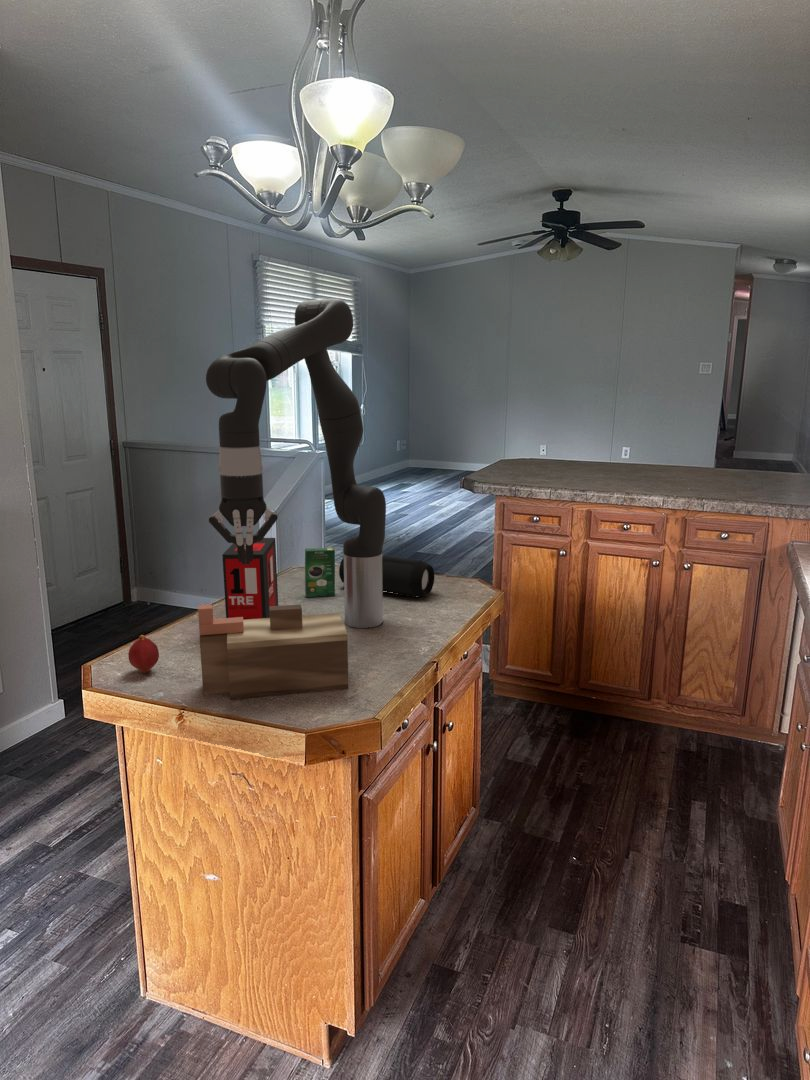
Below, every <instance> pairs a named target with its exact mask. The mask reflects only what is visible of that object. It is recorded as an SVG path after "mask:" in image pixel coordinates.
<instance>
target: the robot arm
mask: <svg viewBox="0 0 810 1080" xmlns="http://www.w3.org/2000/svg"><path fill="white" fill-rule="evenodd" d="M353 328H354V316H353V313H352V310H351V307H350V306H349V304H348V303H347V302H345V301H344V300H342V299H339V298H322V299H321V298H320V299H312V300H311V299H310V300H305V301H301V302H300V303H299V304H297V306H296V308H295V312H294V326H292V327H288V328H284V329H281V330H278V331H275V332H273V333H271V334H269V335H267V336H265V337H263V338H261V339H260V340H258V341H256V342H255V343H253V344H252V345H251V346H248V347H246V348H241V349H238V350H235V351H233V352H229V353H227V354H224V355H221V356H219V357H217V358H216V359H215V360H213V361H212V362H211V363H210V365H209V367H208V368H207V370H206V374H205V383H206V386H207V388H208V390H209V391H210V393H212V395H214V396H215V397H217V398H220V399H229V400H230V399H232V400H235V399H236V403H235V407H234V409H233V411H231V412H230V411H229V412H226V413H224V414H222V415H220V417H219V419H218V437H219V439H218V441H219V458H218V462H219V466H218V471H219V481H220V497H221V499H220V500H221V501H220V504H219V507H218V510H217V511H216V512H214V513H213V514H210V515H209V517H208V522H209V524H210V525H211V526H212V527H213V528H214V529H215V530H216V532H218V533H219V535H220V536H221V537H222V538H223V539H224V540H225V541H226V542H227V543H228V544H233V543H234V544H236V545H237V552H238V561H239V562H242V565H250V562H251V561H253V544H254V543H256V542H258V541H261V540H262V539H263V538H265V536H266V535H267V534H268V533H269V532H270V530H271V529H272V527H273V526H274V525H275V523H276V522H277V520H278V514H277V512H275V511H272V510H271V509H269V508H268V507H267V504H266V503H267V502H265V500H264V483H263V482H264V481H263V460H262V459H263V458H262V453H261V447H260V445H261V444H260V428H259V427H260V424H259V423H260V418H261V415H262V410H263V405H264V401H265V395H266V391H267V383H268V381H271V380H273V379H275V378H276V377H278V376H279V375H281V374H282V373H283V372H286V371H287V370H288V369H290V368H291V367H292V366H294V365H296V364H298V363H299V362H301V361H303V360H304V362H305V365H306V368H307V371H308V375H309V378H310V383H311V386H312V387H311V388H312V390H313V391H312V392H313V394H314V395H313V396H314V399H315V404H316V410H317V414H318V419H319V424H320V429H321V430H320V431H321V433H322V438H323V441H324V445H325V449H326V455H327V460H328V467H329V471H330V479H331V488H332V489H331V490H332V496H333V504H334V505H333V506H334V510H335V512H336V515H337V517H338V519H339V520H340V521H341V522H343V523H345V524H349V525H350V524H351V525H356V526H359V529H358V530H359V531H358V535H357V536H355V537H352V538H348V539H347V540H345V541H344V542H343V547H342V550H343V552H342V553H343V557H344V583H343V585H344V587H343V589H344V623H345V624H346V625H347V626H348V627H351V628H357V629H368V627H370V628H375V627H379V626H380V625H381V623H382V622H384V596H383V595H384V594H383V593H384V592H383V565H382V556H383V548H384V547H383V546H384V542H385V538H386V521H387V519H386V517H387V515H386V514H387V504H386V503H387V502H386V498H385V493H384V492H383V491H382V489H380V488H379V487H375V486H369V485H359V484H358V483H357V482H356V481H357V480H356V475H355V469H354V464H355V463H354V461H355V457H356V455H357V452H358V450H359V447H360V445H361V441H362V439H363V434H364V424H363V420H362V414H361V408H360V405H359V401H358V399H357V397H356V395H355V394H354V392H353V391H352V389H351V388H350V387H349V385H348V384H347V383H346V382H345V380H344V379H343V378H342V377H341V376H340V374H339V373H338V372H337V370H336V369H335V367H334V365H333V364H332V361H331V358H330V356H329V352H328V348H329V347H333V346H335V345H340V344H342V343H345V342H346V341H347V340H348V339H349V338H350V336H351V335H352V332H353ZM222 516H223V517H224V518H225V519H226V521H227V522H228V523H229V524H230V525H231V526H232V527H234V532H235V533H234V534H233V533H231V531H229V529H228V528H227V527H226V526H225V525H224V524H223V522H224V521H223V520H224V519H223V517H222ZM262 516H264V517H263V520H264V522H263V524H262V525H261V526H260V528H259V529H258V531H257V532H256V533H255V534H254V526H256V525H257V524H258V523H259V521H260V520H261V518H262ZM243 527H245V529H246V530H245V538H246V543H244V539H243V538H244V535H243ZM245 552H246V557H245ZM345 624H344V625H345ZM382 624H383V623H382Z"/></svg>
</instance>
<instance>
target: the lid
mask: <svg viewBox="0 0 810 1080" xmlns="http://www.w3.org/2000/svg"><path fill="white" fill-rule="evenodd" d="M269 611H270V618H261V619H247V620H243V624H244V632H238V633H227V650H229V649H242V648H254V647H267V646H280V645H292V644H305V643H318V642H330V641H343V640H348V639H349V637H348V636H349V635H348V632H347V629H346V627H345V624H344V622H343V619H342V616H341V614H340V613H339V612H334V613H333V612H331V613H321V614H319V613H318V614H305V615H303V610H302V604H289V605H288V604H287V605H285V604H284V605H278V606H270V607H269Z"/></svg>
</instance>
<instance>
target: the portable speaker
mask: <svg viewBox="0 0 810 1080" xmlns="http://www.w3.org/2000/svg"><path fill="white" fill-rule="evenodd" d="M382 565H383V591H387V592H393V593H398V594H402V595H401V596H404V595H408V596H407V597H410V596H415V597H414V598H417V597H416V596H421V597H426V596H428V595H429V594H430V593H431V592H432V590H433V587H434V583H435V570H434V567H433V566H432V564H429V563H427V562H426V561H424V560H421V559H413V558H405V557H404V558H403V557H398V556H397V557H396V556H388V555H382ZM338 574H339V575H338V576H339V578H340V580H341V582H342V583H343V584H344V556H343V557H342V559H341V561H340V564H339V568H338Z"/></svg>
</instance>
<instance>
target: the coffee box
mask: <svg viewBox="0 0 810 1080" xmlns="http://www.w3.org/2000/svg"><path fill="white" fill-rule="evenodd" d="M304 589H305V592H304V593H305V597H306V598H315V597H317V598H318V597H319V598H321V597H334V596H336V550H335V548H334V547H323V548H322V547H321V548H305V549H304Z"/></svg>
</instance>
